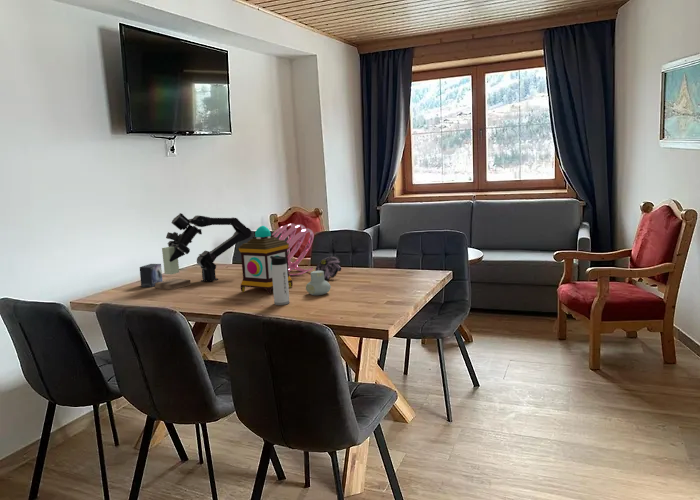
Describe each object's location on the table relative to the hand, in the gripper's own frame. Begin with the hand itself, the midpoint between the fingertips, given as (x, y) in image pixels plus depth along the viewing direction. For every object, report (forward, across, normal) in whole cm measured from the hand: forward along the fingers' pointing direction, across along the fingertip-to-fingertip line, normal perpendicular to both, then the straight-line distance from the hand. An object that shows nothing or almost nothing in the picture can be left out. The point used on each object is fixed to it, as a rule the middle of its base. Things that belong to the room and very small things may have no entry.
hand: (167, 260), depth 277 cm
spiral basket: (-32, +17, +52) cm, 64 cm away
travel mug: (-7, +74, +27) cm, 79 cm away
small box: (+14, -12, +5) cm, 19 cm away
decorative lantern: (-13, +44, +32) cm, 56 cm away
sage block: (+4, 0, +6) cm, 7 cm away
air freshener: (-21, +70, +41) cm, 84 cm away
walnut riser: (+8, 0, +10) cm, 13 cm away
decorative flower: (-37, +42, +57) cm, 80 cm away
